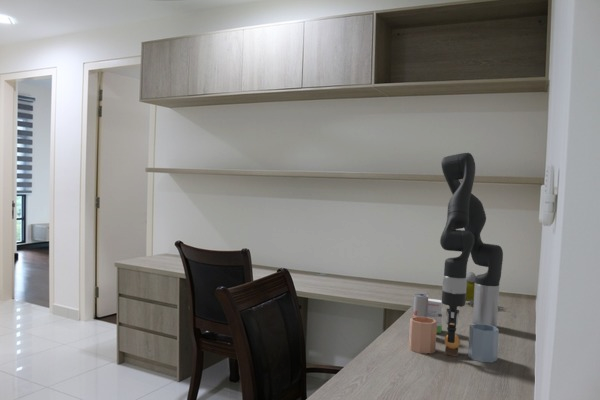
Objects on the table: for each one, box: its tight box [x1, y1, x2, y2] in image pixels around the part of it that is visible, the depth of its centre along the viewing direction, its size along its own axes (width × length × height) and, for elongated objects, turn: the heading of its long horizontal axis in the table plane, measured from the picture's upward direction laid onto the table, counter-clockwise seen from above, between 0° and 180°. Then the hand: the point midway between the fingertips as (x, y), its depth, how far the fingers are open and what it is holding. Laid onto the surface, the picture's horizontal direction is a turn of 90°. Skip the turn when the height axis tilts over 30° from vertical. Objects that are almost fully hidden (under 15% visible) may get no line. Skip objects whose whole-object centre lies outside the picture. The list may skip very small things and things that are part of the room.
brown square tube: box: [444, 345, 459, 357], centre depth 163 cm, size 4×4×2 cm
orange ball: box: [443, 334, 461, 349], centre depth 163 cm, size 5×5×5 cm
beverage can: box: [412, 293, 429, 317], centre depth 182 cm, size 5×5×15 cm
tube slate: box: [467, 323, 500, 364], centre depth 160 cm, size 8×8×10 cm
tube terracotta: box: [408, 316, 437, 354], centre depth 166 cm, size 8×8×10 cm
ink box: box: [427, 298, 444, 334], centre depth 189 cm, size 9×5×12 cm, turn 67°
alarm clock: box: [465, 271, 477, 307], centre depth 236 cm, size 12×7×15 cm, turn 162°
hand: (451, 338), depth 163 cm, fingers open, 8 cm apart
